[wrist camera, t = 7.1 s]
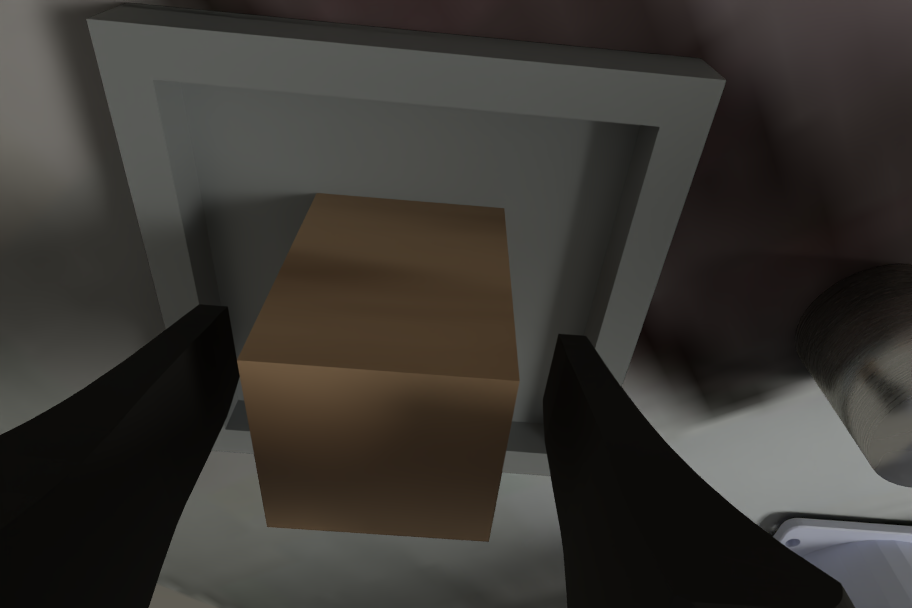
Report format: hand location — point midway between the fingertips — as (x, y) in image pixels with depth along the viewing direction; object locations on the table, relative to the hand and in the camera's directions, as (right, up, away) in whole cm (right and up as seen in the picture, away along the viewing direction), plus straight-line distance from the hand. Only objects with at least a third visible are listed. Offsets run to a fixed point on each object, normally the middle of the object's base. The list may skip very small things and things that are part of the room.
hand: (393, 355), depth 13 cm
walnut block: (0, +2, +2) cm, 3 cm away
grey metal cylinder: (+13, +1, +4) cm, 13 cm away
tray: (0, +2, +3) cm, 3 cm away
